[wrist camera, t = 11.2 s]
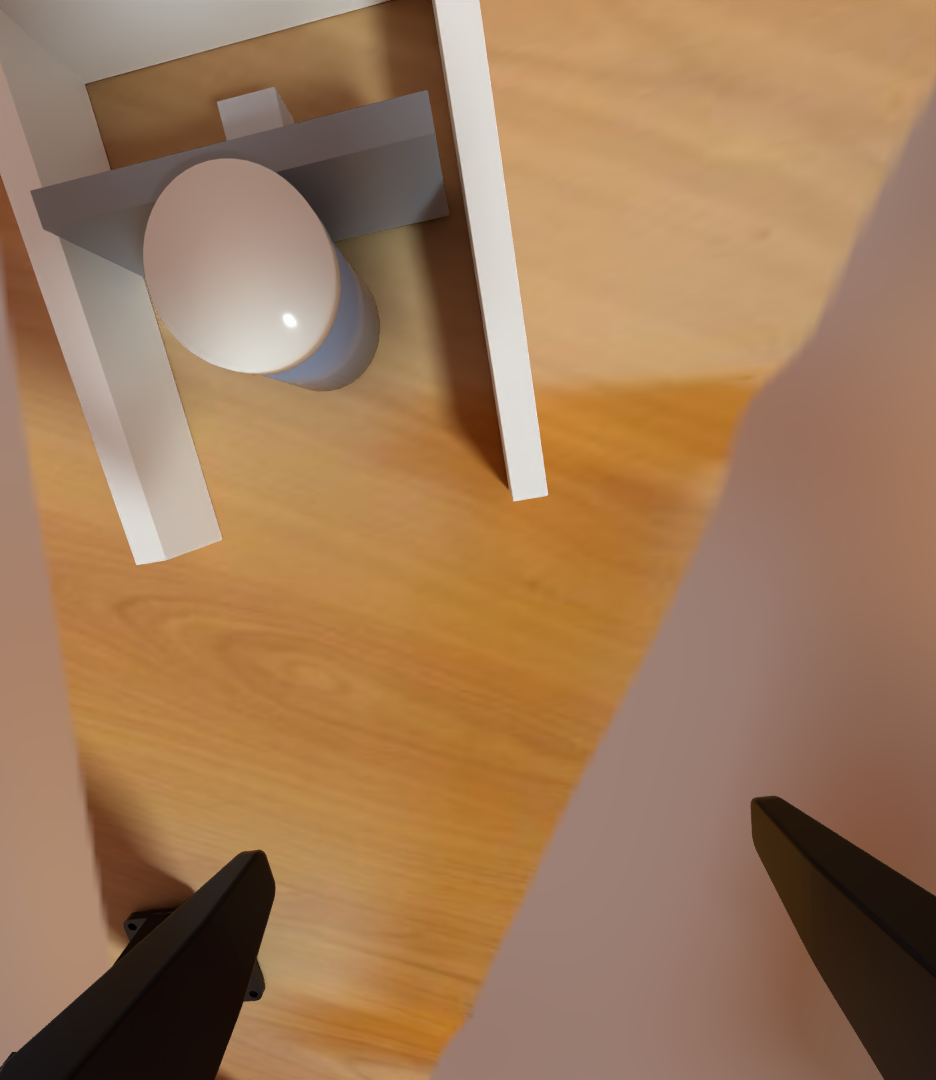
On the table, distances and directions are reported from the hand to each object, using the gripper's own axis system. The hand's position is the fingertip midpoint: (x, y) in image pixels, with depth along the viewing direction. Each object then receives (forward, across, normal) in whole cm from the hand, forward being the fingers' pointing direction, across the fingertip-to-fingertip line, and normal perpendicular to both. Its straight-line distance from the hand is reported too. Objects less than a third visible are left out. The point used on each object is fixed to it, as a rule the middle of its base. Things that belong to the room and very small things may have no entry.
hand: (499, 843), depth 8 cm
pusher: (+12, +5, -17) cm, 22 cm away
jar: (+12, +5, -13) cm, 18 cm away
